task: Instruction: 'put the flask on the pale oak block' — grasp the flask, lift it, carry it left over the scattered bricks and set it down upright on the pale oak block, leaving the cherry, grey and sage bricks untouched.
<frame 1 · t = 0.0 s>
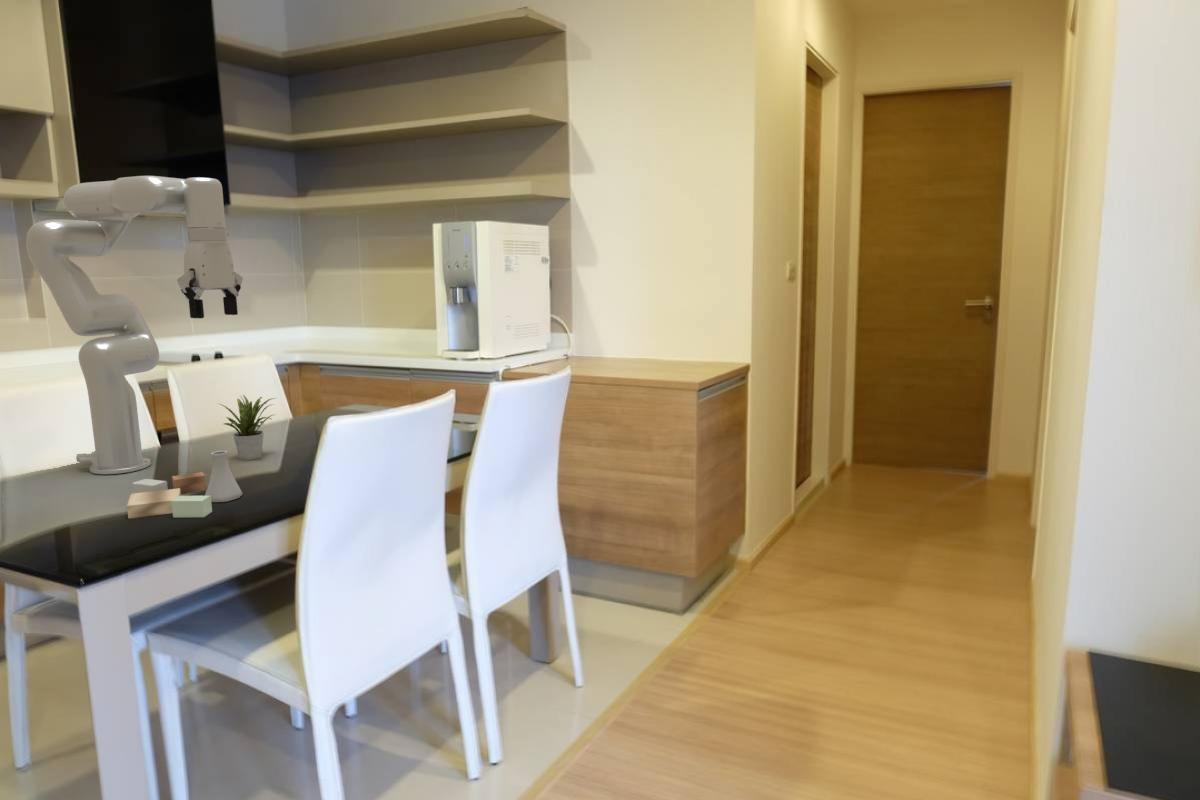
hand: (214, 316, 176), 37 cm above the table, tool pointing down, fingers open, 9 cm apart
house plant: (255, 458, 203), on the table
flask: (223, 499, 170), on the table
grey brick: (150, 498, 170), on the table
sage brick: (193, 515, 159), on the table
cherry brick: (190, 491, 175), on the table
oak block: (156, 510, 163), on the table
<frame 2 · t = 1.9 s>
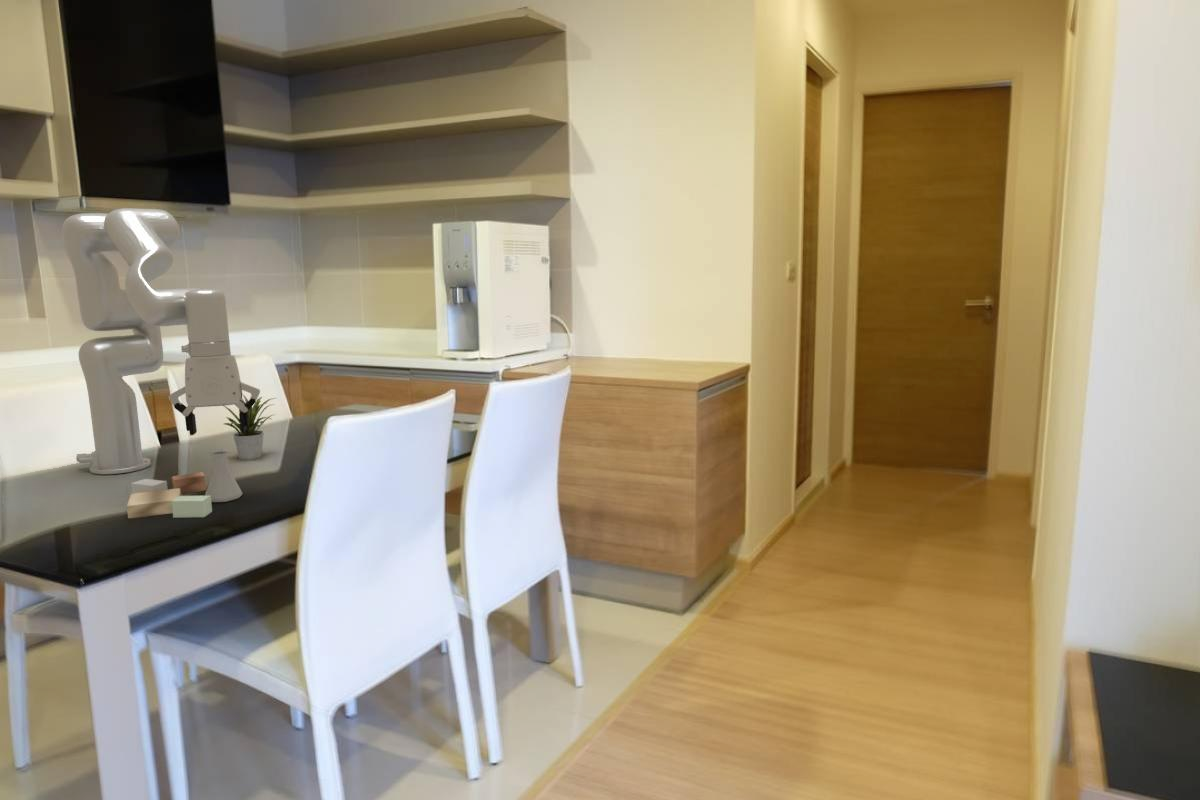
hand: (218, 432, 167), 14 cm above the table, tool pointing down, fingers open, 9 cm apart
nothing on the table moved.
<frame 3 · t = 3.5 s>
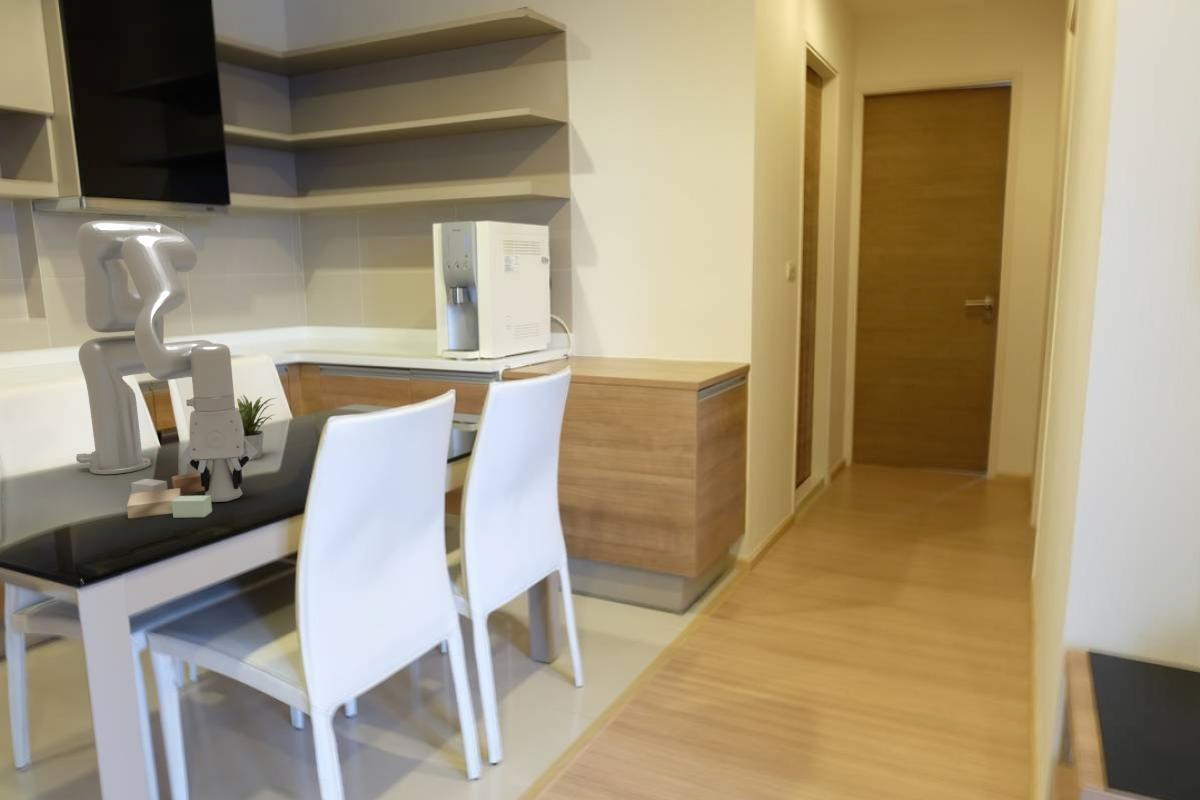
hand: (222, 487, 169), 2 cm above the table, tool pointing down, fingers closed on flask, 5 cm apart
flask: (223, 498, 170), on the table, touching gripper
everything else where it was.
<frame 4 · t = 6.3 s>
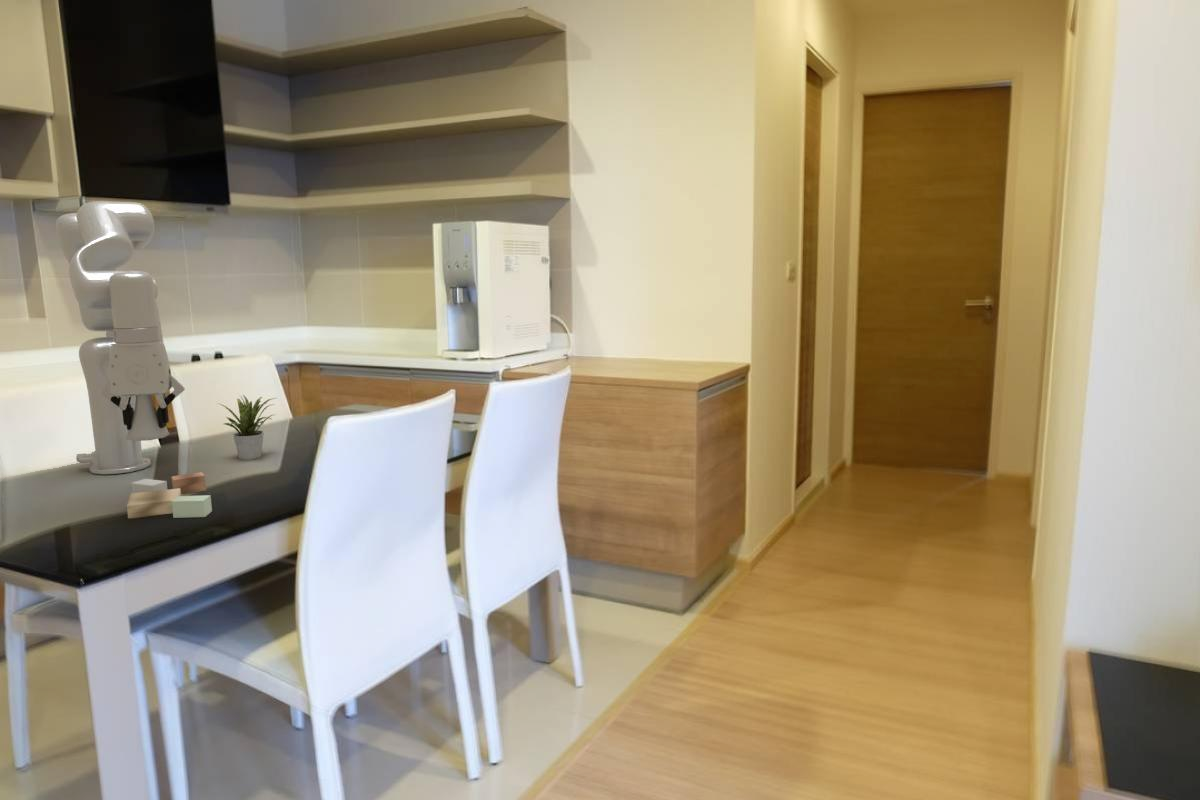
hand: (147, 426, 160), 17 cm above the table, tool pointing down, fingers closed on flask, 5 cm apart
flask: (148, 438, 160), point 15 cm above the table, touching gripper
everything else where it was.
when the fingers open (6 cm above the table, at t = 9.0 s): flask drops 1 cm, resting on oak block.
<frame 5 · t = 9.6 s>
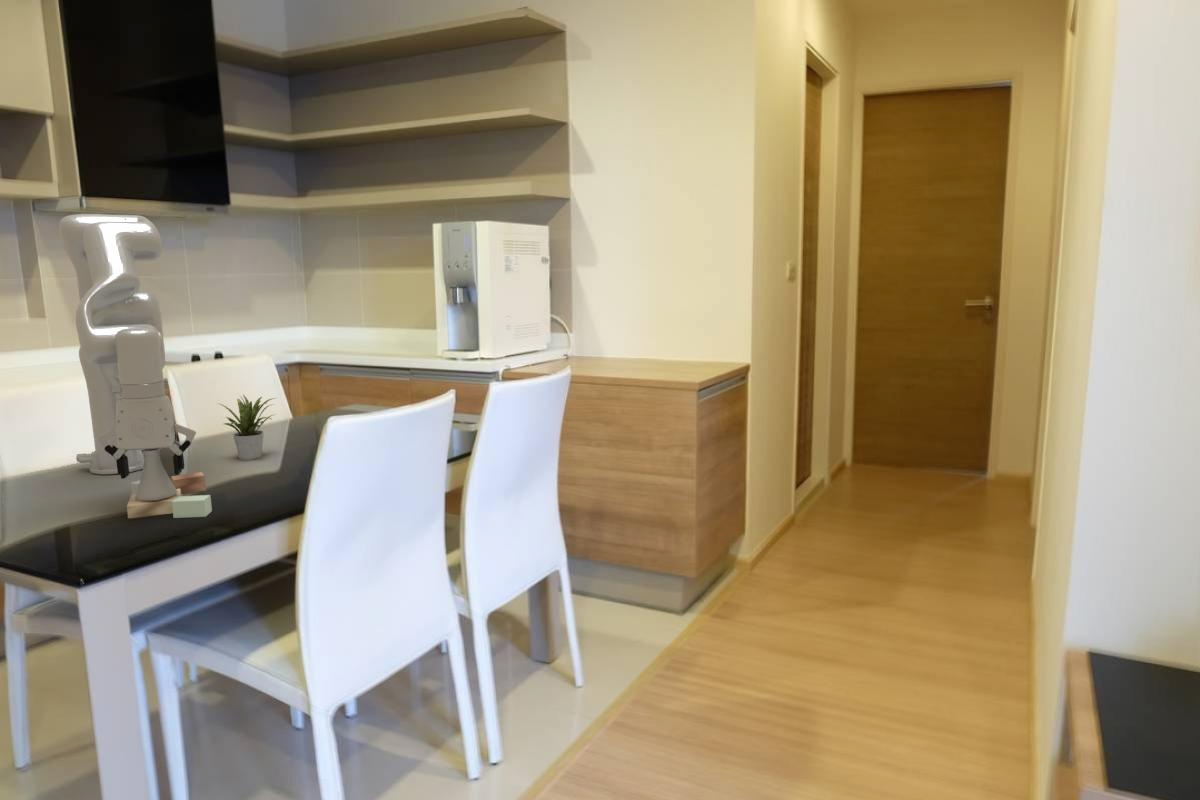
hand: (152, 474, 161), 7 cm above the table, tool pointing down, fingers open, 9 cm apart
flask: (156, 497, 162), point 2 cm above the table, touching oak block
oak block: (156, 511, 163), on the table, touching flask
everything else where it was.
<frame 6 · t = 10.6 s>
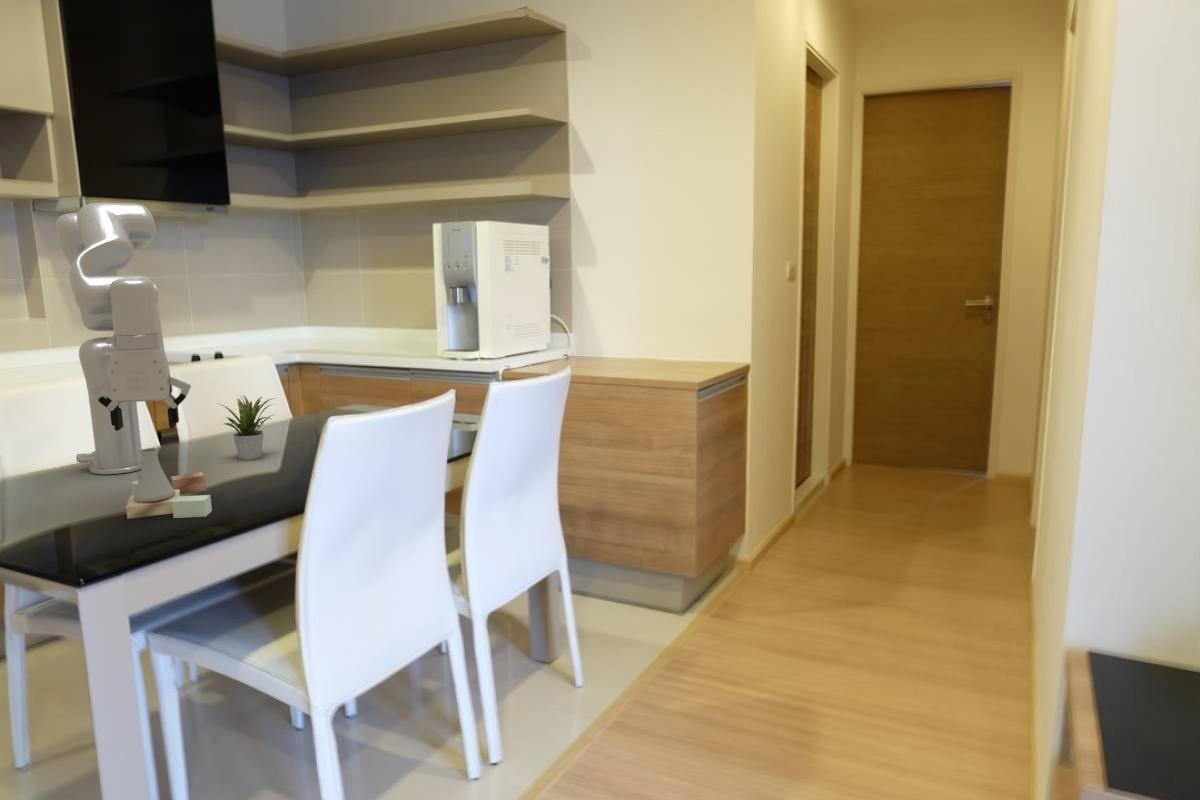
hand: (146, 427, 160), 17 cm above the table, tool pointing down, fingers open, 9 cm apart
nothing on the table moved.
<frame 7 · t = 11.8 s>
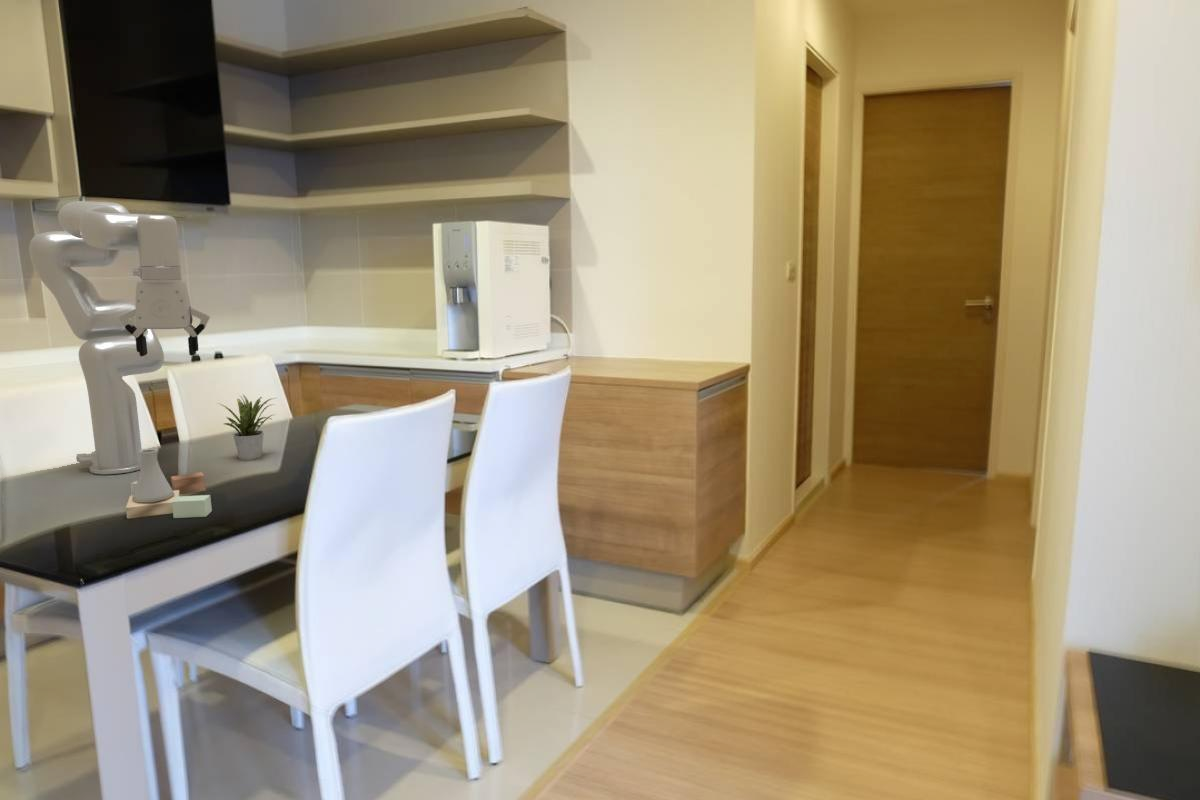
hand: (168, 355, 173), 29 cm above the table, tool pointing down, fingers open, 9 cm apart
nothing on the table moved.
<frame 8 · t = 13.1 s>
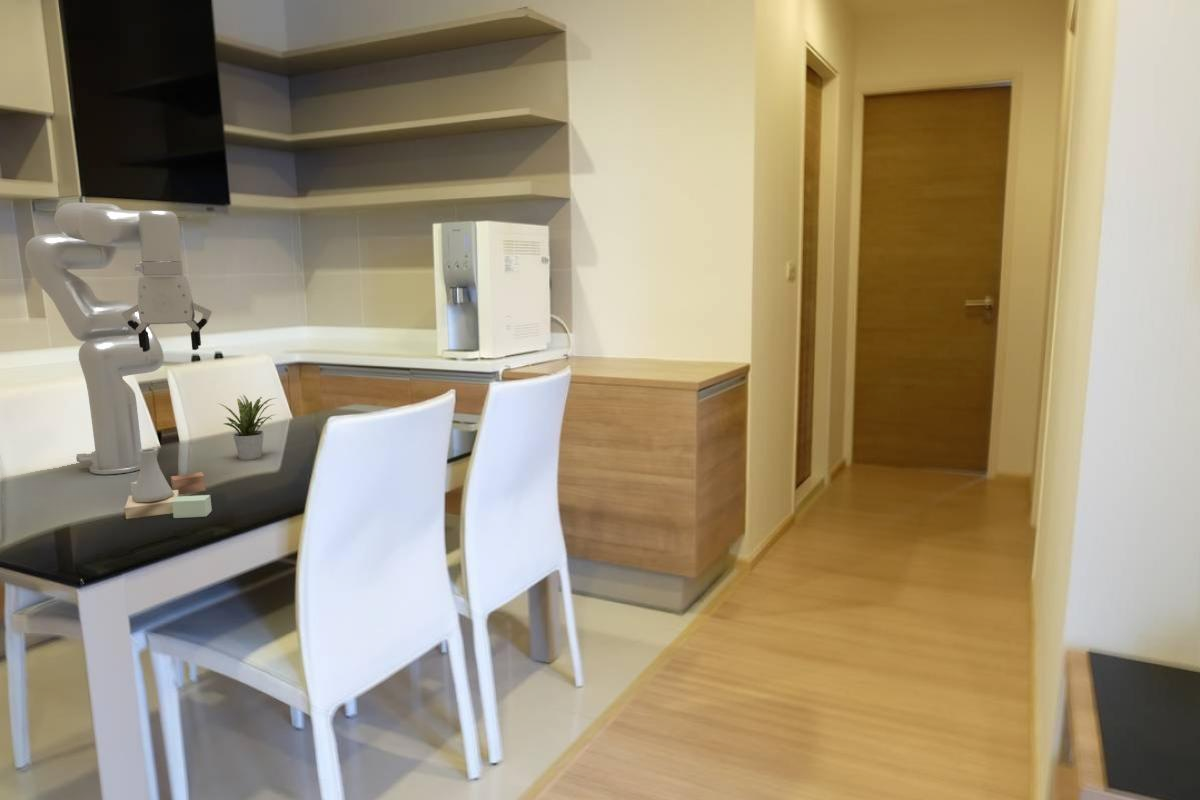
hand: (171, 350, 174), 30 cm above the table, tool pointing down, fingers open, 9 cm apart
nothing on the table moved.
at the end: flask inside the target area on the oak block (0.1 cm from its centre), point 3.0 cm above the oak block's base; flask tilted 2°; cherry brick moved 0.3 cm from its start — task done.
